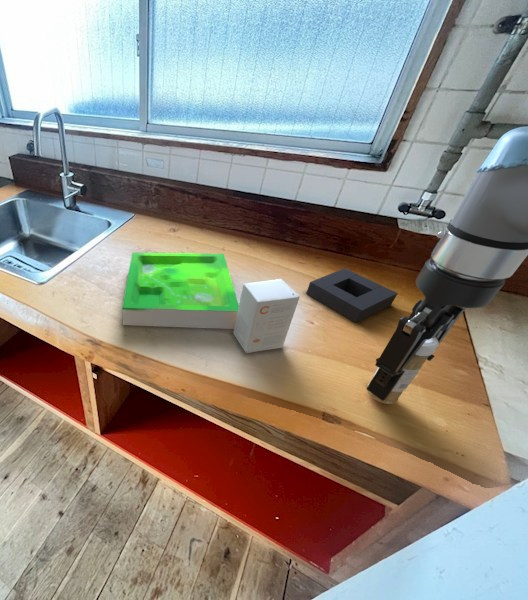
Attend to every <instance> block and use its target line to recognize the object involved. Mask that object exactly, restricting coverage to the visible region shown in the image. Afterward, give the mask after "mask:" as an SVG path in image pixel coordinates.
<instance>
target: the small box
mask: <svg viewBox="0 0 528 600" xmlns="http://www.w3.org/2000/svg"><path fill="white" fill-rule="evenodd" d="M299 300H300V295H299V294H298V293H297V292H296V291H295V290H294V289H293V288H292V287H291V286H290V285H289V284H287V282H285V281H284V280H283V279H282V278H276V279H270V280H262V281H254V282H253V281H252V282H246V283H243V284H242V289H241V294H240V299H239V302H238V305H239V308H238V313H237V317H236V323H235V328H234V329H233V335H234V337H235V338H236V340H237V341H238V343H239V345H240V346H241V348H242V349H243V351H244V352H245V354H251V353H257V352H264V351H269V350H276V349H281V348H283V347H284V344H285V341H286V338H287V335H288V332H289V330H290V326H291V324H292V320H293V318H294V315H295V313H296V309H297V306H298V303H299Z"/></svg>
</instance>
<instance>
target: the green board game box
mask: <svg viewBox="0 0 528 600" xmlns="http://www.w3.org/2000/svg"><path fill="white" fill-rule="evenodd" d="M127 274H128V275H127V278H126V279H127V280H126V284H125V291H124V296H123V302H122V307H121V311H122V325H123V326H137V327H139V326H141V327H163V328H164V327H165V328H167V327H168V328H194V329H195V328H197V329H220V330H221V329H225V330H226V329H227V330H234V328H235V323H236V317H237V313H238V308H239V301H238V298H237V295H236V291H235V288H234V284H233V280H232V277H231V274H230V270H229V267H228V263H227V259H226V256H225V253H203V252H202V253H194V252H192V253H191V252H187V253H186V252H131V258H130V262H129V267H128V273H127Z"/></svg>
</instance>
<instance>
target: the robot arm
mask: <svg viewBox="0 0 528 600" xmlns="http://www.w3.org/2000/svg"><path fill="white" fill-rule="evenodd" d="M436 237H437V238H438V239H439V240H438V242H437V243H436V244H435V247H434V248H433V250H432V252H431V254H430V258H428V259H427V260H426V261H425V263H424V265H423V267H422V268H421V270H420V272H419V273H418V275H417V277H416V279H415V286H416V288H417V290H419V291H420V292H421V293H422V295H423V296H424V299H423V300H422V299H419V300H418V301H416V303H415V304H414V305H413V307H412V309H411V313H410V315H409V316H406V315H404V316H402V317H400V318H399V320H398V323H397V325H396V329H395V330H394V332H393V334H392V336H391V337H390V339H389V341H388V342H387V344H386V346H385V347H384V349H383V351H382V353H381V354H380V356H379V357H378V358H375V364H374V365H375V367H377V369H378V367H379V369H378V371H377V370H376V371H377V372H376V371H375V372H376V374H375V373H374V374H375V376H374V375H373V376H374V377H372V378H373V379H372V378H371V379H370V381H371V382H370V381H369V383H370V384H369V385H368V384H367V385H368V387H367V386H366V391H367V390H368V391H370V392H371V393H372V394H374V395H375V396H377V397H378V398H379V399H381V400H382V401H384V400H385V399H386V398H387V396H388V395H389V394H390V392H391V391H392V389H393V388H394V386H395V385H396V384H397V382H398V381H399V379H400V378H401V376H402V375H403V373H404V371H403V369H404V368H405V367H406V365H407V364H408V363H409V362H410V360H411V359H412V358H413V356H414V355H415V354H416V353H417V351H418V350H419V349H420V347H421V346H422V345H423V344H424V342H425V341H426V340H429V339H431V338H434V337H436V338H437V340H438V342H439V345H440V344H441V342H442V341H443V340H444V338H445V337H446V335H447V334H448V333H449V332H450V330H451V329H452V328H453V326H454V325H455V324H456V322H457V321H458V319H459V318H460V317H461V316H462V314H463V313H464V312H465V311H466V309H478V308H484V307H486V306H487V305H489V304H490V303H491V302H492V301H493V299H494V298H495V297H496V296H497V294H498V293H499V291H500V290H501V289H502V288H503V286H504V285H505V284H506V279H508V278H511V277H512V276H513V275H514V273H515V272H516V271H517V270H518V268H519V267H520V266H521V264H522V263H523V262H524V260H526V259H527V257H528V126H526V125H525V126H519V127H516V128H513V129H510V130H509V131H507V132H504V134H502V135H501V137H499V139H498V141H497V142H496V143H495V145H494V146H493V147H492V150H491V151H490V153H489V154H488V156H487V157H486V158H485V160H484V161H483V163H482V165H481V166H480V167H479V168H477V170H476V174H475V175H474V178H473V179H472V181H471V183H470V185H469V187H468V189H467V190H466V193H465V194H464V197H463V199H462V200H461V202H460V204H459V206H458V207H457V210H456V212H455V213H454V216H453V217H452V219H450V221H449V222H448V224H447V226H446V227H445V229H444V230H440V231H439V232H437V233H436ZM438 347H439V346H438ZM438 347H437V348H436V350H437V349H438ZM434 358H435V355H434V354H432V355H431V356H429V357H428V358H427V359H426V360H427V361H428V362H431V361H432V360H433V359H434Z"/></svg>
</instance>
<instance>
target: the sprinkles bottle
mask: <svg viewBox="0 0 528 600" xmlns="http://www.w3.org/2000/svg"><path fill="white" fill-rule="evenodd" d="M439 345H440V344H439V342H438V340H437V338H436V337H434V338H431V339H429V340H426V341H425V342H424V344H423V345H422V346H421V347H420V349H419V350H418V351H417V353H416V354H415V355H414V356H413V358H412V359H411V360H410V362H409V363H408V364H407V365H406V367H405V368H404V369H403V371H404V373H403V375H402V376H401V378H400V379H399V381H398V382H397V384H396V385H395V386H394V388H393V389H392V391H391V392H390V394H389V395H388V396H387V398H386V399H385V400H384V401H382V400H381V399H379V398H378V397H377V396H375V395H374V394H372V393H371V392H370V391H368V390H367V389H366V391H367V394H369V396H370V397H371V398H372V399H374V400H375V401H376V402H379V403H382V404H385V405H393V404H395V403H397V402H398V401H399V398H400V397H401V395H402V394H403V393H404V392H405V391H406V389H407V388H409V387H408V386H409V385H410V384H411V383H412V382H413V380H414V379H415V378H416V377H417V375H418V374H419V372H420V370H421V369H422V367H423V366H424V365H425V362H426V360H427V358H428V357H429V356H431V355H434V353H435V351H436V350H437V349H438V348H437V347H439ZM436 348H437V349H436ZM378 369H379V367H377V369H376V371H375V372H374V374H373V377H374V376H375V374H376V372H377V371H378ZM373 377H372V378H371V380H372V379H373ZM371 380H370V381H369V383H367V385H366V388H367V387H368V385H369V384H370V382H371Z"/></svg>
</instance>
